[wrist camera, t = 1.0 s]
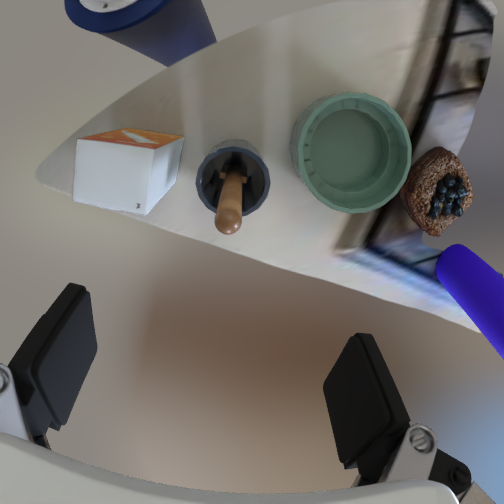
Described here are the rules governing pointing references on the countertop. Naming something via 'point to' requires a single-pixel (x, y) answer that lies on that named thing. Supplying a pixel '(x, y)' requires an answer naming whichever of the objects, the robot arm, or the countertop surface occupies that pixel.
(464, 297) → the bottle
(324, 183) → the bowl
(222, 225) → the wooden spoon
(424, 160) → the pastry
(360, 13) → the countertop surface
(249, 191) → the crock
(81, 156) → the small box
